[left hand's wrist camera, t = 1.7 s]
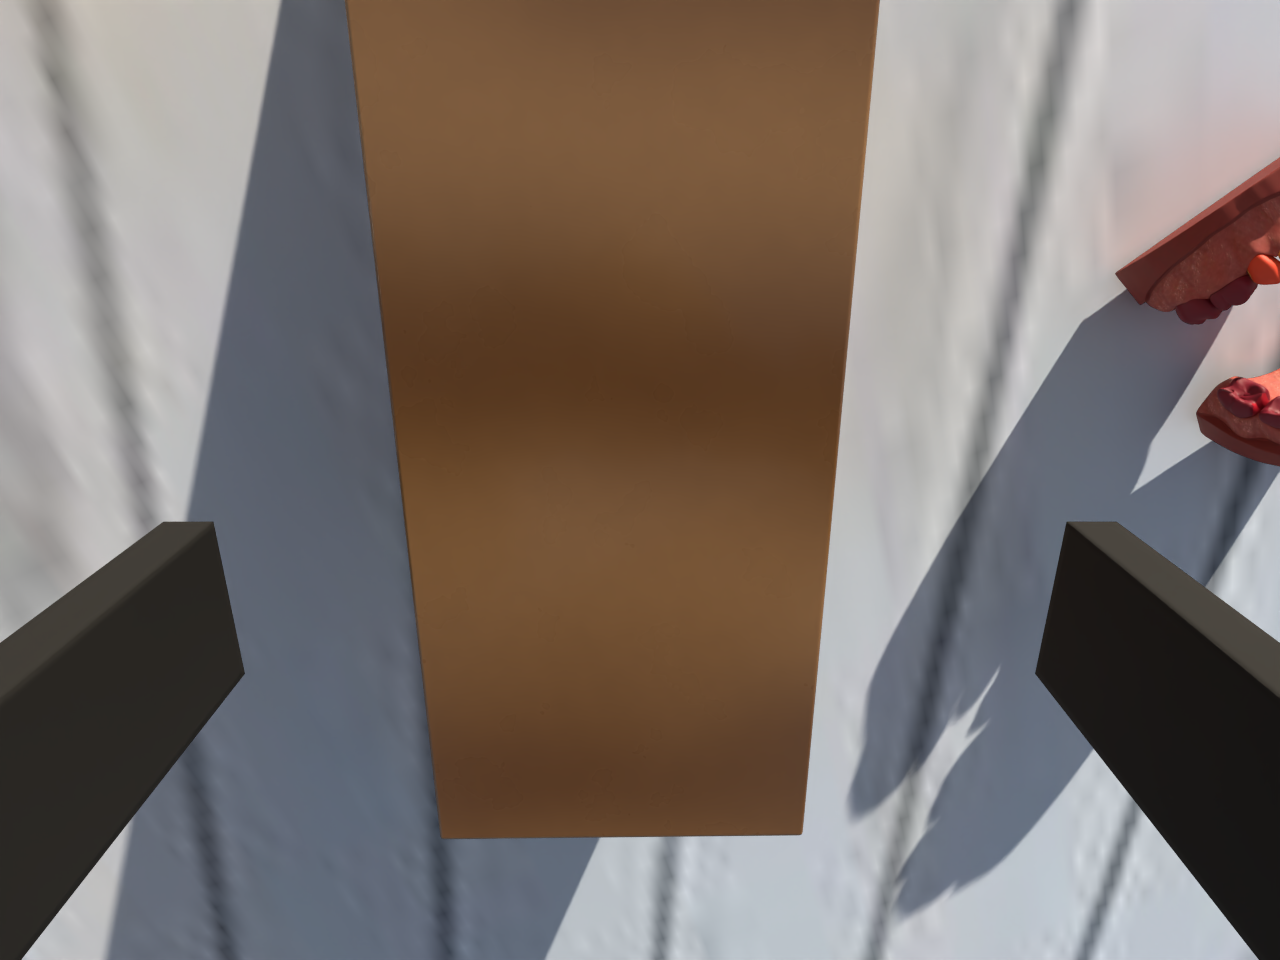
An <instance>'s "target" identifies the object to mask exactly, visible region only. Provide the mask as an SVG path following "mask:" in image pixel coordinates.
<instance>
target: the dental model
mask: <svg viewBox="0 0 1280 960" xmlns="http://www.w3.org/2000/svg"><path fill="white" fill-rule="evenodd" d="M1273 256H1274V257H1273ZM1277 256H1279V258H1280V158H1278V159H1277V160H1275V161H1274V162H1272V163H1271V164H1270V165H1268V166H1267V167H1265V168H1264V169H1262V170H1261V171H1260V172H1258V173H1257V174H1255V175H1254V176H1252V177H1251V178H1250V179H1248V180H1247V181H1245V182H1244V183H1242V184H1241V185H1240V186H1238V187H1237V188H1235V189H1234V190H1232V191H1231V192H1230V193H1228V194H1227V195H1225V196H1224V197H1223V198H1221V199H1220V200H1218V201H1217V202H1215V203H1214V204H1213V205H1211V206H1210V207H1208V208H1207V209H1205V210H1204V211H1203V212H1201V213H1200V214H1198V215H1197V216H1195V217H1194V218H1193V219H1191V220H1190V221H1188V222H1187V223H1186V224H1184V225H1183V226H1181V227H1180V228H1178V229H1177V230H1176V231H1174V232H1173V233H1171V234H1170V235H1168V236H1167V237H1166V238H1164V239H1163V240H1161V241H1160V242H1159V243H1157V244H1156V245H1154V246H1153V247H1152V248H1150V249H1149V250H1147V251H1146V252H1144V253H1143V254H1142V255H1140V256H1139V257H1137V258H1136V259H1135V260H1133V261H1132V262H1130V263H1129V264H1127V265H1126V266H1125V267H1123V268H1122V269H1120V270H1119V271H1117V272H1116V273H1115V274H1116V276H1117V277H1118V278H1119V280H1120V281H1121V282H1122V283H1123V285H1124V286H1125V287H1126V288H1127V290H1128V291H1129V292H1130V293H1131V295H1132V296H1133V297H1134V298H1135V300H1136V301H1137V302H1138V303H1139V304H1140V305H1141V304H1143V303H1145V302H1146V303H1147V304H1148V305H1150V306H1151V307H1153V308H1155V309H1157V310H1160V311H1163V312H1169V311H1173V310H1175V309H1176V313H1177V315H1178V316H1179V318H1180V319H1181V320H1182V321H1183V322H1185V323H1188V324H1192V325H1193V324H1198V325H1199V324H1202V323H1203V322H1205V320H1206V319H1215V318H1217V317H1218V316H1219V315H1220V314H1221V312H1222V311H1224V310H1227V309H1229V308H1230V307H1231V306H1232V305H1241V304H1243V303H1245V302H1246V301H1247V300H1248V299H1249V298H1250V296H1251V295H1252V293H1253V292H1254V290H1255V289H1256V288H1257V286H1258V284H1262V285H1268V284H1278V283H1280V261H1279V260H1277V259H1276V258H1275V257H1277ZM1196 415H1197V419H1198V423H1199V427H1200V431H1201V433H1202V434H1203V435H1205V436H1206V437H1208V438H1209V439H1211V440H1212V441H1214V442H1216V443H1217V444H1219V445H1221V446H1223V447H1225V448H1226V449H1228V450H1230V451H1232V452H1234V453H1237V454H1239V455H1242V456H1244V457H1247V458H1250V459H1253V460H1255V461H1259V462H1262V463H1266V464H1271V465H1276V466H1280V369H1278V370H1276V371H1273V372H1271V373H1269V374H1266V375H1263V376H1259V377H1255V378H1248V379H1246V378H1242V377H1232V378H1229V379H1228V380H1226V381H1224V382H1222V383H1220V384H1219V385H1218V386H1216V387H1215V388H1214V389H1213V391H1212V392H1211V393H1210V394H1209V396H1208V397H1207V398H1206V399H1205V401H1204V402H1203V403H1202V404H1201V406H1200V407H1199V409H1198V410H1197V412H1196Z"/></svg>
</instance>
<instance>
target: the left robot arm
mask: <svg viewBox="0 0 1280 960" xmlns="http://www.w3.org/2000/svg"><path fill="white" fill-rule="evenodd" d="M244 674H245V672H244V667H243V663H242V658H241V653H240V648H239V643H238V639H237V634H236V629H235V624H234V619H233V614H232V610H231V605H230V600H229V595H228V590H227V585H226V581H225V576H224V571H223V566H222V561H221V557H220V552H219V547H218V542H217V537H216V532H215V528H214V523H213V522H163V523H161V524H160V525H159V526H157V527H156V528H154V529H153V530H152V531H150V532H149V533H148V534H146V535H145V536H144V537H142V538H141V539H140V540H138V541H137V542H136V543H134V544H133V545H132V546H130V547H129V548H128V549H126V550H125V551H123V552H122V553H121V554H119V555H118V556H117V557H115V558H114V559H113V560H111V561H110V562H109V563H107V564H106V565H105V566H103V567H102V568H101V569H99V570H98V571H97V572H95V573H94V574H92V575H91V576H90V577H88V578H87V579H86V580H84V581H83V582H82V583H80V584H79V585H78V586H76V587H75V588H74V589H72V590H71V591H70V592H68V593H67V594H66V595H64V596H63V597H61V598H60V599H59V600H57V601H56V602H55V603H53V604H52V605H51V606H49V607H48V608H47V609H45V610H44V611H43V612H41V613H40V614H39V615H37V616H36V617H35V618H33V619H32V620H30V621H29V622H28V623H26V624H25V625H24V626H22V627H21V628H20V629H18V630H17V631H16V632H14V633H13V634H12V635H10V636H9V637H8V638H6V639H5V640H4V641H2V642H1V643H0V960H21V959H22V958H23V957H24V955H25V954H26V953H27V952H28V950H29V949H30V948H31V946H32V945H33V944H34V943H35V941H36V940H37V939H38V937H39V936H40V935H41V934H42V932H43V931H44V930H45V929H46V927H47V926H48V925H49V923H50V922H51V921H52V920H53V918H54V917H55V916H56V914H57V913H58V912H59V911H60V909H61V908H62V907H63V906H64V904H65V903H66V902H67V900H68V899H69V898H70V897H71V895H72V894H73V893H74V891H75V890H76V889H77V888H78V886H79V885H80V884H81V882H82V881H83V880H84V879H85V877H86V876H87V875H88V874H89V872H90V871H91V870H92V868H93V867H94V866H95V865H96V863H97V862H98V861H99V859H100V858H101V857H102V856H103V854H104V853H105V852H106V851H107V849H108V848H109V847H110V845H111V844H112V843H113V842H114V840H115V839H116V838H117V836H118V835H119V834H120V833H121V831H122V830H123V829H124V827H125V826H126V825H127V824H128V822H129V821H130V820H131V819H132V817H133V816H134V815H135V813H136V812H137V811H138V810H139V808H140V807H141V806H142V804H143V803H144V802H145V801H146V799H147V798H148V797H149V796H150V794H151V793H152V792H153V790H154V789H155V788H156V787H157V785H158V784H159V783H160V781H161V780H162V779H163V778H164V776H165V775H166V774H167V772H168V771H169V770H170V769H171V767H172V766H173V765H174V764H175V762H176V761H177V760H178V758H179V757H180V756H181V755H182V753H183V752H184V751H185V749H186V748H187V747H188V746H189V744H190V743H191V742H192V741H193V739H194V738H195V737H196V735H197V734H198V733H199V732H200V730H201V729H202V728H203V726H204V725H205V724H206V723H207V721H208V720H209V719H210V717H211V716H212V715H213V714H214V712H215V711H216V710H217V709H218V707H219V706H220V705H221V703H222V702H223V701H224V700H225V698H226V697H227V696H228V694H229V693H230V692H231V691H232V689H233V688H234V687H235V686H236V684H237V683H238V682H239V680H240V679H241V678H242V677H243V675H244ZM1035 674H1036V675H1037V677H1038V678H1039V679H1040V680H1041V682H1042V683H1043V684H1044V686H1045V687H1046V688H1047V689H1048V691H1049V692H1050V693H1051V694H1052V696H1053V697H1054V698H1055V700H1056V701H1057V702H1058V703H1059V705H1060V706H1061V707H1062V709H1063V710H1064V711H1065V712H1066V714H1067V715H1068V716H1069V717H1070V719H1071V720H1072V721H1073V723H1074V724H1075V725H1076V726H1077V728H1078V729H1079V730H1080V732H1081V733H1082V734H1083V735H1084V737H1085V738H1086V739H1087V741H1088V742H1089V743H1090V744H1091V746H1092V747H1093V748H1094V749H1095V751H1096V752H1097V753H1098V755H1099V756H1100V757H1101V758H1102V760H1103V761H1104V762H1105V764H1106V765H1107V766H1108V767H1109V769H1110V770H1111V771H1112V772H1113V774H1114V775H1115V776H1116V778H1117V779H1118V780H1119V781H1120V783H1121V784H1122V785H1123V787H1124V788H1125V789H1126V790H1127V792H1128V793H1129V794H1130V796H1131V797H1132V798H1133V799H1134V801H1135V802H1136V803H1137V804H1138V806H1139V807H1140V808H1141V810H1142V811H1143V812H1144V813H1145V815H1146V816H1147V817H1148V819H1149V820H1150V821H1151V822H1152V824H1153V825H1154V826H1155V827H1156V829H1157V830H1158V831H1159V833H1160V834H1161V835H1162V836H1163V838H1164V839H1165V840H1166V842H1167V843H1168V844H1169V845H1170V847H1171V848H1172V849H1173V851H1174V852H1175V853H1176V854H1177V856H1178V857H1179V858H1180V859H1181V861H1182V862H1183V863H1184V865H1185V866H1186V867H1187V868H1188V870H1189V871H1190V872H1191V874H1192V875H1193V876H1194V877H1195V879H1196V880H1197V881H1198V882H1199V884H1200V885H1201V886H1202V888H1203V889H1204V890H1205V891H1206V893H1207V894H1208V895H1209V897H1210V898H1211V899H1212V900H1213V902H1214V903H1215V904H1216V905H1217V907H1218V908H1219V909H1220V911H1221V912H1222V913H1223V914H1224V916H1225V917H1226V918H1227V920H1228V921H1229V922H1230V923H1231V925H1232V926H1233V927H1234V929H1235V930H1236V931H1237V932H1238V934H1239V935H1240V936H1241V937H1242V939H1243V940H1244V941H1245V943H1246V944H1247V945H1248V946H1249V948H1250V949H1251V950H1252V952H1253V953H1254V954H1255V955H1256V957H1257V958H1258V959H1259V960H1280V643H1279V642H1278V641H1276V640H1275V639H1274V638H1272V637H1271V636H1270V635H1268V634H1267V633H1266V632H1264V631H1263V630H1262V629H1260V628H1259V627H1258V626H1256V625H1255V624H1254V623H1252V622H1251V621H1250V620H1248V619H1247V618H1245V617H1244V616H1243V615H1241V614H1240V613H1239V612H1237V611H1236V610H1235V609H1233V608H1232V607H1231V606H1229V605H1228V604H1227V603H1225V602H1224V601H1223V600H1221V599H1220V598H1219V597H1217V596H1216V595H1214V594H1213V593H1212V592H1210V591H1209V590H1208V589H1206V588H1205V587H1204V586H1202V585H1201V584H1200V583H1198V582H1197V581H1196V580H1194V579H1193V578H1192V577H1190V576H1189V575H1188V574H1186V573H1185V572H1183V571H1182V570H1181V569H1179V568H1178V567H1177V566H1175V565H1174V564H1173V563H1171V562H1170V561H1169V560H1167V559H1166V558H1165V557H1163V556H1162V555H1161V554H1159V553H1158V552H1157V551H1155V550H1154V549H1152V548H1151V547H1150V546H1148V545H1147V544H1146V543H1144V542H1143V541H1142V540H1140V539H1139V538H1138V537H1136V536H1135V535H1134V534H1132V533H1131V532H1130V531H1128V530H1127V529H1126V528H1124V527H1123V526H1121V525H1120V524H1119V523H1117V522H1067V523H1066V528H1065V532H1064V537H1063V542H1062V547H1061V552H1060V557H1059V561H1058V566H1057V571H1056V576H1055V581H1054V585H1053V590H1052V595H1051V600H1050V605H1049V610H1048V614H1047V619H1046V624H1045V629H1044V634H1043V639H1042V643H1041V648H1040V653H1039V658H1038V663H1037V667H1036V672H1035Z"/></svg>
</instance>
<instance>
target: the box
mask: <svg viewBox="0 0 1280 960" xmlns="http://www.w3.org/2000/svg"><path fill="white" fill-rule="evenodd" d="M879 4H880V0H345V7H346V16H347V25H348V33H349V42H350V51H351V60H352V68H353V77H354V86H355V95H356V103H357V112H358V121H359V130H360V138H361V147H362V156H363V165H364V173H365V182H366V191H367V199H368V208H369V217H370V226H371V234H372V243H373V252H374V261H375V269H376V278H377V287H378V296H379V304H380V313H381V322H382V331H383V339H384V348H385V357H386V366H387V374H388V383H389V392H390V400H391V409H392V418H393V427H394V435H395V444H396V453H397V462H398V470H399V479H400V488H401V497H402V505H403V514H404V523H405V532H406V540H407V549H408V558H409V567H410V575H411V584H412V593H413V601H414V610H415V619H416V628H417V636H418V645H419V654H420V663H421V671H422V680H423V689H424V698H425V706H426V715H427V724H428V733H429V741H430V750H431V759H432V768H433V776H434V785H435V794H436V802H437V811H438V820H439V829H440V836H441V838H442V839H496V838H588V837H680V836H772V835H801V834H802V832H803V822H804V811H805V801H806V790H807V779H808V768H809V758H810V747H811V736H812V725H813V714H814V704H815V693H816V682H817V671H818V661H819V650H820V639H821V628H822V618H823V607H824V596H825V585H826V574H827V564H828V553H829V542H830V531H831V521H832V510H833V499H834V488H835V478H836V467H837V456H838V445H839V434H840V424H841V413H842V402H843V391H844V381H845V370H846V359H847V348H848V338H849V327H850V316H851V305H852V294H853V284H854V273H855V262H856V251H857V241H858V230H859V219H860V208H861V198H862V187H863V176H864V165H865V154H866V144H867V133H868V122H869V111H870V101H871V90H872V79H873V68H874V58H875V47H876V36H877V25H878V15H879Z"/></svg>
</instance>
